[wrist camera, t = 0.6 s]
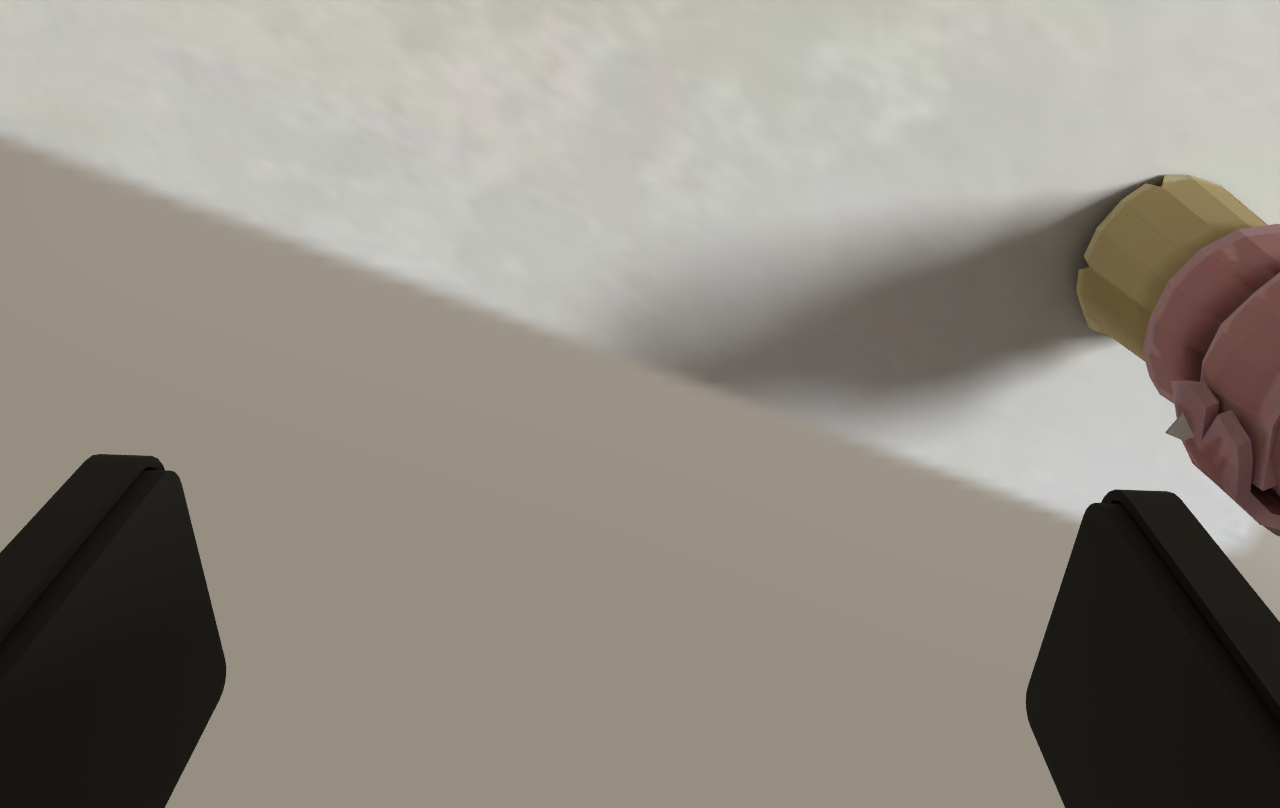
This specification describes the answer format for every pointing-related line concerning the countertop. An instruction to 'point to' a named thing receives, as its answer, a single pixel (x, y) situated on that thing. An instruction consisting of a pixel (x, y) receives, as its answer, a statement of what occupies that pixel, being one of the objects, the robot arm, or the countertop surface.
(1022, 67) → the countertop surface
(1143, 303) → the scroll
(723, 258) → the countertop surface
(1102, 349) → the countertop surface
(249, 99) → the countertop surface
